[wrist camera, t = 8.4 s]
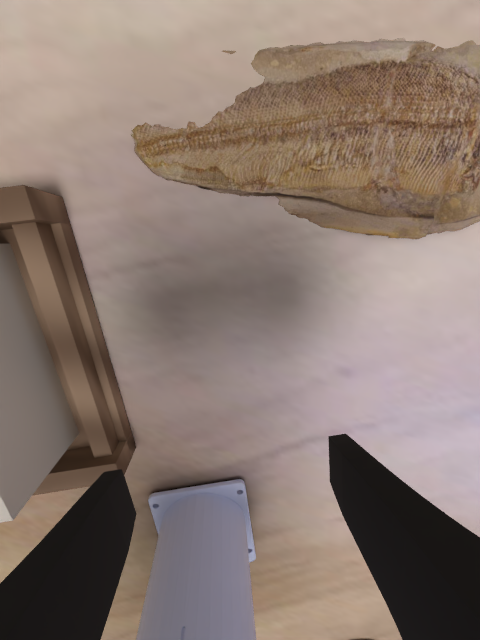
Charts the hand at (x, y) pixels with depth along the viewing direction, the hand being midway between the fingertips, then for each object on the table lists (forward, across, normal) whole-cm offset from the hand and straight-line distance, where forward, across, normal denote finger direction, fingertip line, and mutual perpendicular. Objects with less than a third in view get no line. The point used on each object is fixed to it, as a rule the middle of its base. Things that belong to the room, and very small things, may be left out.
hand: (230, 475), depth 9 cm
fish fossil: (+11, -9, -13) cm, 19 cm away
